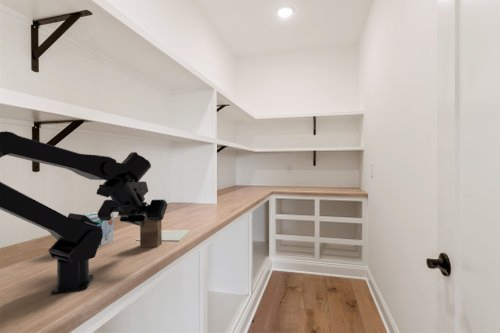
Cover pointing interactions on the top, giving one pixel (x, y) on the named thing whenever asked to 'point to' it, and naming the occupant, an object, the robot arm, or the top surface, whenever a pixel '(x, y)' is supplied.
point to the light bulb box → (104, 227)
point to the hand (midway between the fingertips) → (143, 225)
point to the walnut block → (151, 234)
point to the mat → (172, 235)
